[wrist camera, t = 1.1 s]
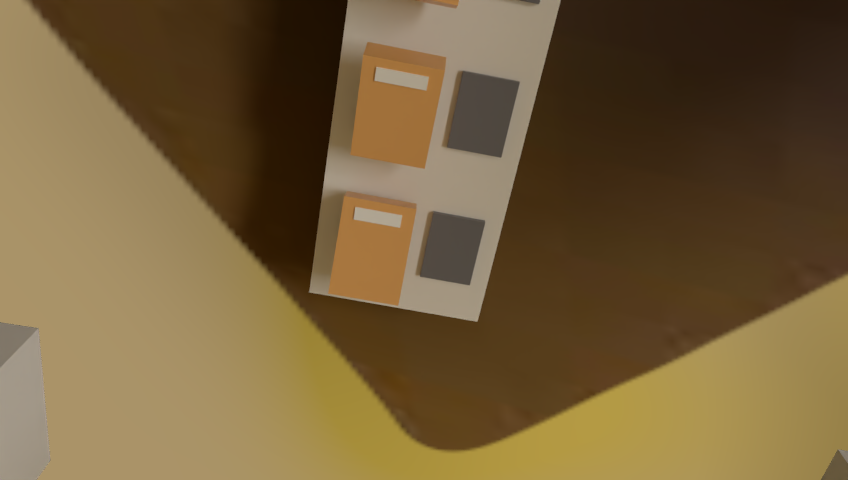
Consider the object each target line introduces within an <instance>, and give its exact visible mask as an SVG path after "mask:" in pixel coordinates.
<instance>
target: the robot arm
mask: <svg viewBox="0 0 848 480" xmlns="http://www.w3.org/2000/svg"><path fill="white" fill-rule="evenodd" d="M49 462H50V451H49V440H48V429H47V417H46V406H45V395H44V384H43V372H42V362H41V351H40V339H39V329H38V328H33V327H27V326H20V325H14V324H7V323H1V322H0V480H37V479H38V477H39V476H40V474H41V473H42V471H43V470H44V469H45V467H46V466H47V464H48V463H49ZM821 480H848V451H844V450H837V452H836V454H835V456H834V457H833V459H832V461H831V463H830V465H829V467H828V468H827V470H826V472H825V474H824V475H823V477H822V479H821Z"/></svg>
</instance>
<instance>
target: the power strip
mask: <svg viewBox="0 0 848 480" xmlns="http://www.w3.org/2000/svg"><path fill="white" fill-rule="evenodd" d="M560 1H561V0H459V2H458V6H457V8H456V9H455V8H450V7H445V6H440V5H435V4H430V3H425V2H420V1H415V0H348V4H347V12H346V19H345V27H344V34H343V42H342V49H341V57H340V65H339V72H338V80H337V87H336V95H335V102H334V110H333V117H332V125H331V132H330V140H329V147H328V155H327V162H326V170H325V177H324V185H323V193H322V200H321V208H320V215H319V223H318V230H317V238H316V245H315V253H314V260H313V268H312V275H311V283H310V290H309V292H310V293H316V294H322V295H328V296H333V297H339V298H345V299H350V300H356V301H362V302H368V303H373V304H379V305H385V306H391V307H396V308H402V309H408V310H413V311H419V312H425V313H431V314H436V315H442V316H448V317H453V318H459V319H465V320H471V321H476V322H477V321H478V318H479V314H480V310H481V306H482V302H483V298H484V294H485V290H486V287H487V283H488V279H489V275H490V271H491V267H492V263H493V260H494V256H495V252H496V248H497V244H498V240H499V236H500V233H501V229H502V225H503V221H504V217H505V213H506V209H507V206H508V202H509V198H510V194H511V190H512V186H513V182H514V178H515V175H516V171H517V167H518V163H519V159H520V155H521V151H522V148H523V144H524V140H525V136H526V132H527V128H528V124H529V121H530V117H531V113H532V109H533V105H534V101H535V97H536V94H537V90H538V86H539V82H540V78H541V74H542V70H543V66H544V63H545V59H546V55H547V51H548V47H549V43H550V39H551V36H552V32H553V28H554V24H555V20H556V16H557V12H558V9H559V5H560ZM367 42H371V43H377V44H382V45H387V46H392V47H397V48H402V49H407V50H412V51H417V52H423V53H428V54H433V55H438V56H443V57H446V66H445V73H444V78H443V83H442V88H441V93H440V97H439V102H438V107H437V112H436V117H435V121H434V126H433V131H432V136H431V141H430V146H429V150H428V155H427V160H426V165H425V169H423V168H417V167H412V166H407V165H401V164H396V163H391V162H385V161H380V160H374V159H369V158H364V157H358V156H353V155H350V153H351V146H352V138H353V130H354V122H355V115H356V107H357V99H358V91H359V84H360V76H361V68H362V60H363V54H364V51H365V48H366V45H367ZM347 191H350V192H356V193H361V194H367V195H372V196H377V197H383V198H388V199H394V200H399V201H405V202H410V203H416V204H417V210H416V215H415V220H414V225H413V231H412V236H411V241H410V247H409V252H408V257H407V262H406V268H405V273H404V278H403V283H402V289H401V294H400V299H399V305H398V306H397V305H391V304H385V303H380V302H374V301H368V300H362V299H357V298H351V297H345V296H339V295H334V294H328V291H329V285H330V279H331V273H332V267H333V261H334V255H335V249H336V243H337V236H338V230H339V224H340V218H341V212H342V206H343V200H344V195H345V194H346V192H347Z"/></svg>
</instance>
